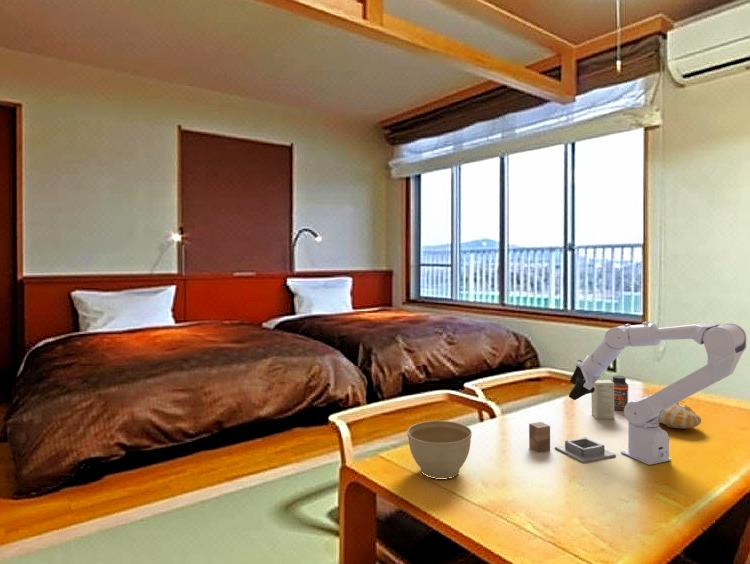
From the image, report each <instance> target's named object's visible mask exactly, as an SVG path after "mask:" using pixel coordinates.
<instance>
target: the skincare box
mask: <svg viewBox="0 0 750 564" xmlns="http://www.w3.org/2000/svg"><path fill="white" fill-rule="evenodd" d="M612 381H613V380H611V379H598V380H597V381H596V382H595V383H594V386H593V387H594V388H595V391H594V392H593V393H591V416H592V417H593V418H594V419H597V420H603V419H609V420H610V419H612V420H613V419H615V410H614V382H612Z"/></svg>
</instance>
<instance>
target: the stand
mask: <svg viewBox="0 0 750 564" xmlns="http://www.w3.org/2000/svg"><path fill="white" fill-rule="evenodd" d="M564 442H565V443H564V444H563V445H556V446H554V449H555V450H557V451H558V452H561V453H562V454H565V455H566V456H567V457H568V456H569V457H570V458H573V459H574V460H576V461H578V462H579V463H582V464H585V463H591V462H594V461H595V462H596V461H601V460H604V459H610V458H611V459H612V458H615V457H616V455H617V454H616V453H614V452H612V451H609V450H606V449H605V444H604V445H603V444H601V443H599V442H597V441H595V440H592V439H590V438H588V437H581V438H574V439H569V440H565V441H564Z"/></svg>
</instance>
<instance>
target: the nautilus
mask: <svg viewBox="0 0 750 564" xmlns="http://www.w3.org/2000/svg"><path fill="white" fill-rule="evenodd" d="M680 403H685V404H684V405H682V404H680ZM658 423H659V424H663V425H665V426H667V427H669V428H672V429H673V428H674V429H684V430H687V429H690V428H695V427H698V426H699V425H701V424H702V418H701V416H699V415H698V414H697V413H696V411H694V410H693V409H691V407H690V406H688V405H686V402H685V401H683V400H681V401H680V402H678V403H676V404H674V405H672V406H670V407H668V408H666V409H665V410H664V411H663V412H662V414H661V415H660V416H659V417H658Z"/></svg>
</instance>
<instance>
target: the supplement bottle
mask: <svg viewBox="0 0 750 564" xmlns="http://www.w3.org/2000/svg"><path fill="white" fill-rule="evenodd" d="M626 379H627V378H626V376H624V375H613V377H612V380H611V381H612V382H614V411H622V412H624V408H625V406H626V404H627V403H629V384H628V383H627V381H626Z"/></svg>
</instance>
